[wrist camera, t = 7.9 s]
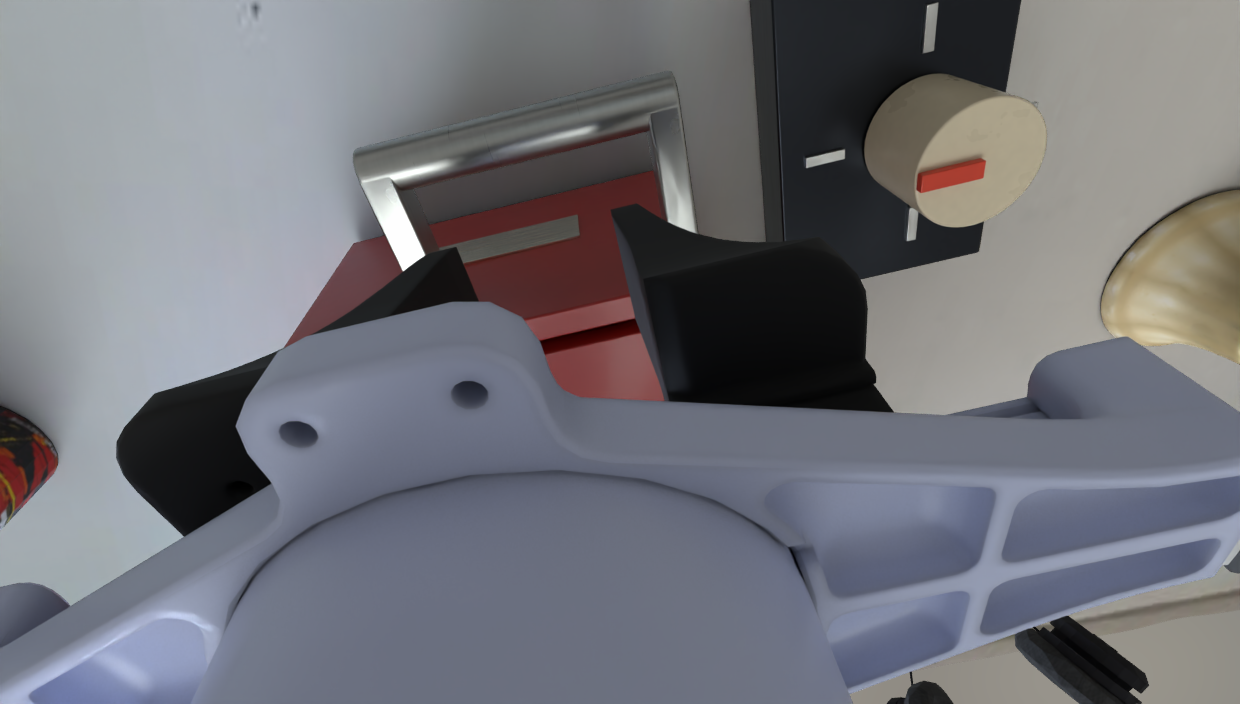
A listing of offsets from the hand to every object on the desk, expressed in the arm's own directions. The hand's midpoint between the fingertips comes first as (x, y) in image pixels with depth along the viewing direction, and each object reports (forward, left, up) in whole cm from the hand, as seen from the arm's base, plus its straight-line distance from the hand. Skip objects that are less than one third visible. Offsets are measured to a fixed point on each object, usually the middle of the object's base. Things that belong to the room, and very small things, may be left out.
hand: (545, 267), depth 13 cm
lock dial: (-2, -13, -8) cm, 15 cm away
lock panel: (-2, -12, -10) cm, 16 cm away
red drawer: (0, +2, -10) cm, 10 cm away
